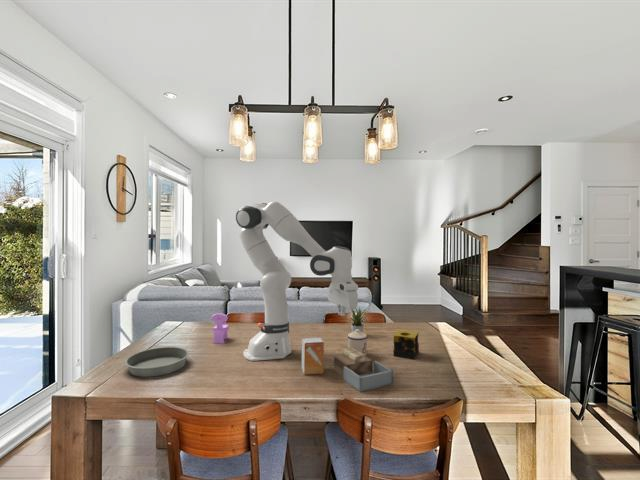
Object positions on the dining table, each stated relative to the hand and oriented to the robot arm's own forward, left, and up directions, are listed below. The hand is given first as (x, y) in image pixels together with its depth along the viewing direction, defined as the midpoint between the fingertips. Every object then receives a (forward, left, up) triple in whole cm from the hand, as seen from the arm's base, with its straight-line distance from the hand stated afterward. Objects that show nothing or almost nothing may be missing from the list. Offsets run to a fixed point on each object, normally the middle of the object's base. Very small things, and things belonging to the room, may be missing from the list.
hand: (341, 315), depth 149 cm
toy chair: (-42, +55, -21) cm, 72 cm away
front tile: (0, -12, -15) cm, 20 cm away
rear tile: (0, -7, -15) cm, 17 cm away
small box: (-15, -2, -21) cm, 26 cm away
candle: (+33, -3, -21) cm, 39 cm away
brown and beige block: (0, -10, -21) cm, 23 cm away
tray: (0, -21, -21) cm, 29 cm away
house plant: (+29, +31, -21) cm, 47 cm away
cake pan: (-72, +31, -22) cm, 81 cm away
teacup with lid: (+13, +8, -21) cm, 26 cm away
